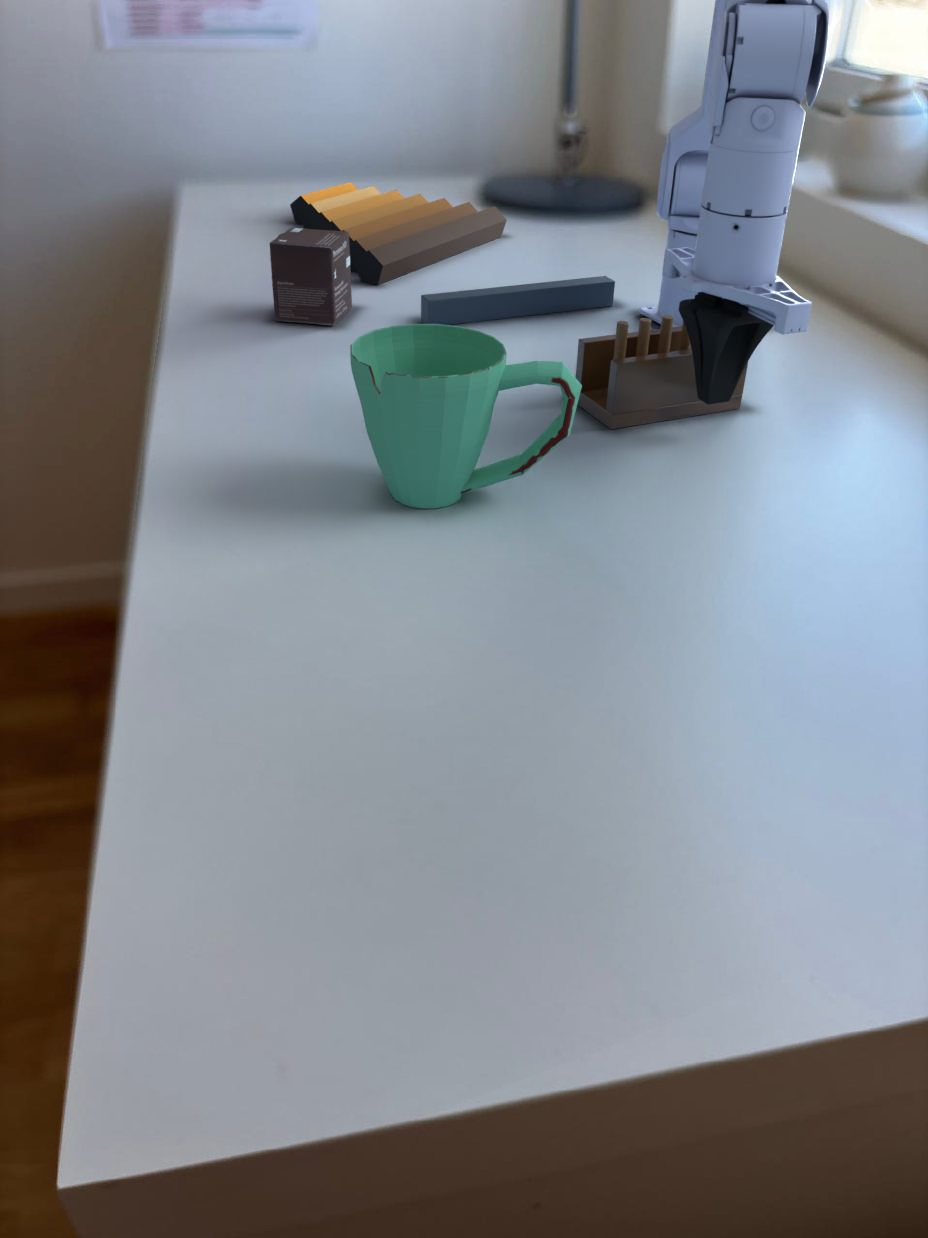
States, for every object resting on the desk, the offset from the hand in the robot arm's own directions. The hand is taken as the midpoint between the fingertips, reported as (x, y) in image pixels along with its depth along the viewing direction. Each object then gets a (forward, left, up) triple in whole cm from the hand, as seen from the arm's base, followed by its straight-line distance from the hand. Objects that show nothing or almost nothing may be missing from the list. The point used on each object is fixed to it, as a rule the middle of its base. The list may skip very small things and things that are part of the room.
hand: (713, 399), depth 81 cm
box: (+19, -38, -3) cm, 43 cm away
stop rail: (0, -32, -3) cm, 32 cm away
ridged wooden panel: (+6, -62, -3) cm, 63 cm away
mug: (+21, +2, -3) cm, 21 cm away
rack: (0, -7, -3) cm, 8 cm away
